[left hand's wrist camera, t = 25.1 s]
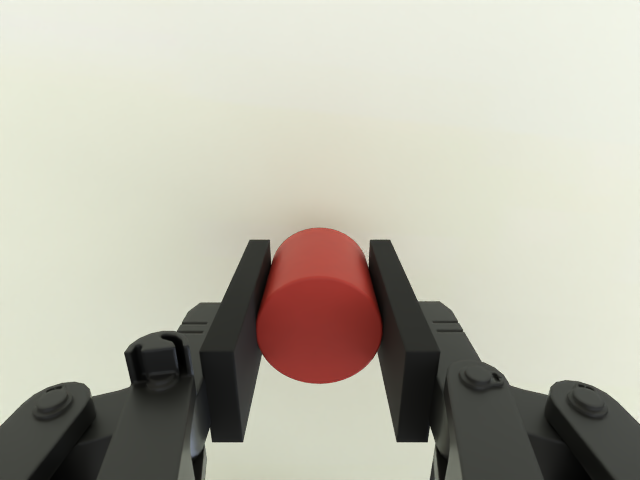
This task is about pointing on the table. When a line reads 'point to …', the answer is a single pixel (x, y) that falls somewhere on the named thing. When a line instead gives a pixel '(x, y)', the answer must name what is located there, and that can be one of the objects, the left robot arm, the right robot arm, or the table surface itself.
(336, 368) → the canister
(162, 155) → the table surface
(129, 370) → the left robot arm
